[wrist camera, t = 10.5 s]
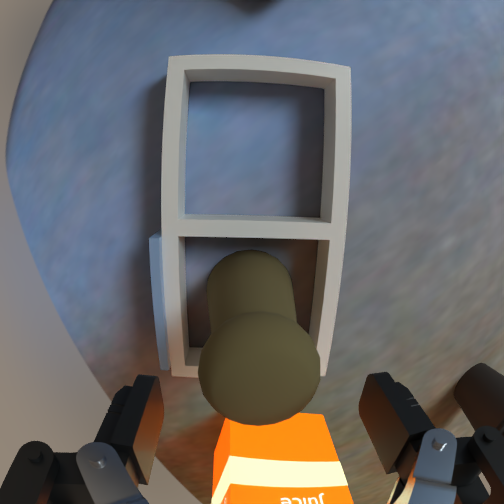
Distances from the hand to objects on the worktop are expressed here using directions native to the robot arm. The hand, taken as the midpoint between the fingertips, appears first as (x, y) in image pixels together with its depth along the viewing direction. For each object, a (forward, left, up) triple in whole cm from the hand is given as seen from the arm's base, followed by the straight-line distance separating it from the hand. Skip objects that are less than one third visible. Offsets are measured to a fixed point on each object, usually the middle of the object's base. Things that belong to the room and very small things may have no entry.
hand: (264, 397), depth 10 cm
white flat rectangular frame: (-5, 0, -11) cm, 12 cm away
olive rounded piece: (0, 0, -11) cm, 11 cm away
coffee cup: (+12, +26, -11) cm, 31 cm away
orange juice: (+15, +2, -11) cm, 19 cm away
